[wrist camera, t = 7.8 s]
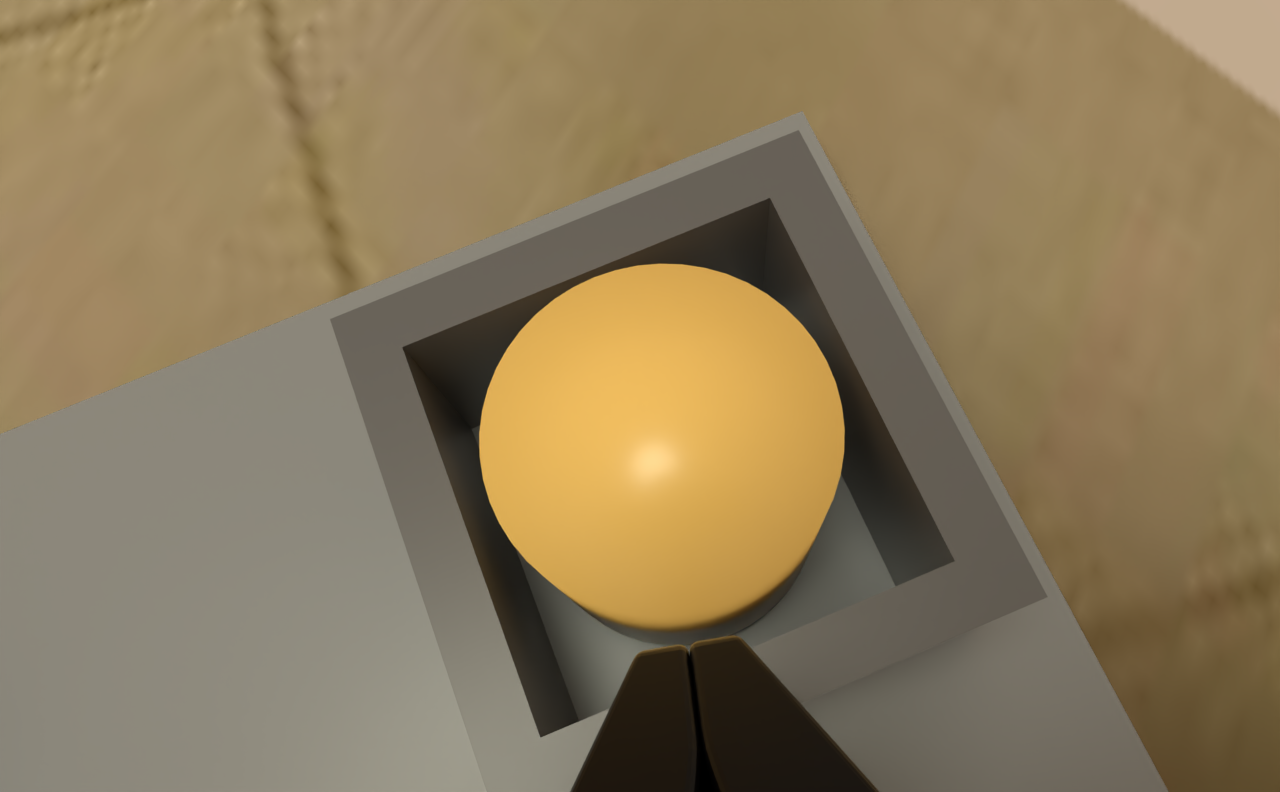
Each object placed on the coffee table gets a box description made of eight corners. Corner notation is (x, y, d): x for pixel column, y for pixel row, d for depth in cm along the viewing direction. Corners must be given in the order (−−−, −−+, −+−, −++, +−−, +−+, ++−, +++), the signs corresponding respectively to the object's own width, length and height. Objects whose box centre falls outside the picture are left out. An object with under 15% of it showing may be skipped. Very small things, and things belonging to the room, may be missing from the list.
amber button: (864, 577, 16) (909, 526, 12) (597, 691, 16) (553, 677, 12) (747, 332, 17) (752, 212, 13) (501, 433, 17) (432, 342, 13)
